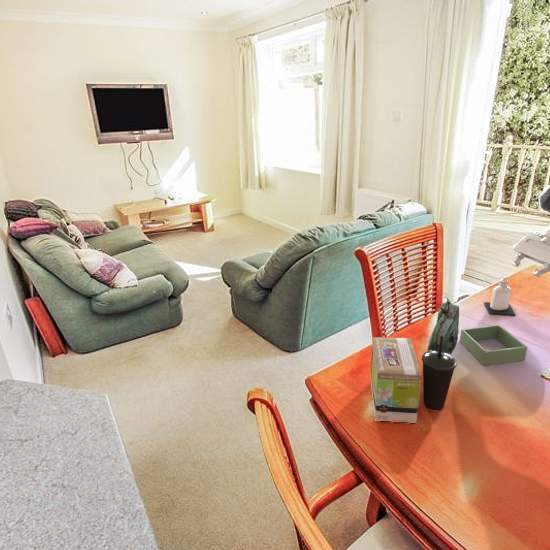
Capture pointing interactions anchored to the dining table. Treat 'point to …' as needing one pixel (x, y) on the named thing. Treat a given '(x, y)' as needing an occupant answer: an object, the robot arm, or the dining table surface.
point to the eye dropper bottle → (501, 296)
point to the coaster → (499, 312)
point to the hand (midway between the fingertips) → (524, 270)
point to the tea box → (395, 379)
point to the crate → (511, 354)
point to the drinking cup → (437, 376)
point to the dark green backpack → (445, 328)
